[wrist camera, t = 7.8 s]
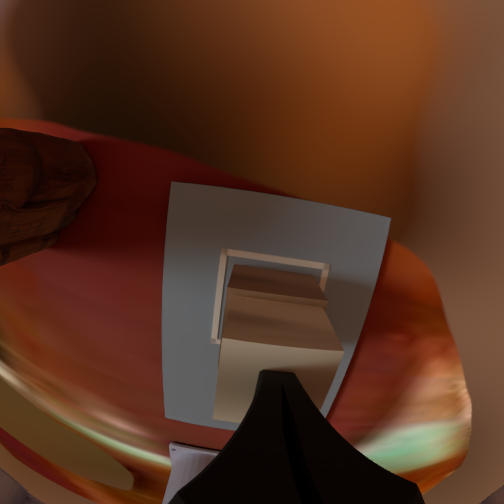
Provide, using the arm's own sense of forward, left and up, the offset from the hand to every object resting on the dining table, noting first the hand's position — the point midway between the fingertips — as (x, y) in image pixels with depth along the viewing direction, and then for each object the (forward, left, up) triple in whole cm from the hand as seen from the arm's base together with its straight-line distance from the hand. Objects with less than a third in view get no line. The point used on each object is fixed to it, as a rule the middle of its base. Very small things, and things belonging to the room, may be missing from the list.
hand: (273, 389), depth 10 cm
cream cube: (0, 0, -4) cm, 4 cm away
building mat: (-3, 0, -9) cm, 9 cm away
